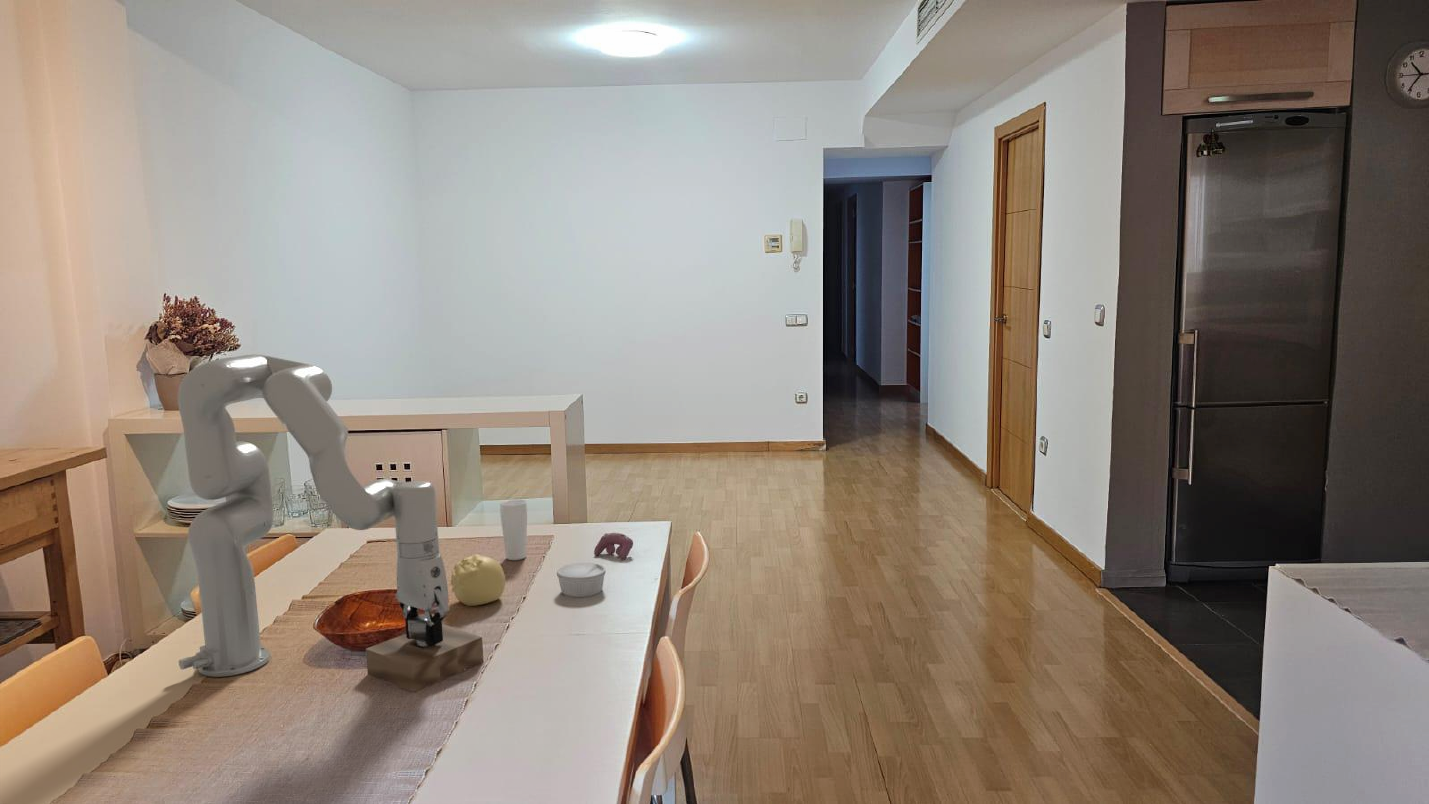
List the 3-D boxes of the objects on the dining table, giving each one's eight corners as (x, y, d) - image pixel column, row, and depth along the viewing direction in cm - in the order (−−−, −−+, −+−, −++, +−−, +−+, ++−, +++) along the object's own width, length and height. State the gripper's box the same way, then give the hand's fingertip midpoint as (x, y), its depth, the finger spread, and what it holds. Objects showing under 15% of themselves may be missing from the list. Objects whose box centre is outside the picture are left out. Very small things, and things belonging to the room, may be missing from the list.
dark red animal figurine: (631, 563, 248) (637, 536, 250) (621, 559, 244) (628, 533, 246) (601, 558, 253) (607, 532, 255) (591, 554, 249) (597, 528, 251)
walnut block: (413, 692, 170) (411, 666, 170) (367, 674, 179) (365, 648, 178) (483, 662, 183) (482, 637, 182) (438, 646, 191) (436, 622, 191)
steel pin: (422, 665, 177) (419, 626, 176) (404, 658, 180) (401, 620, 179) (447, 654, 181) (444, 617, 180) (429, 648, 184) (426, 611, 183)
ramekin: (611, 595, 219) (610, 573, 219) (563, 602, 215) (562, 580, 214) (599, 581, 230) (598, 559, 229) (553, 587, 226) (552, 566, 225)
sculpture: (449, 597, 220) (447, 552, 219) (502, 589, 224) (499, 545, 223) (454, 613, 210) (451, 566, 208) (509, 605, 214) (507, 559, 212)
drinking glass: (501, 555, 251) (498, 500, 249) (527, 553, 253) (524, 498, 251) (504, 563, 245) (501, 506, 243) (530, 560, 247) (527, 504, 245)
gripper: (463, 549, 175) (469, 643, 178) (407, 536, 186) (413, 624, 188) (429, 560, 169) (436, 656, 172) (373, 545, 180) (380, 637, 182)
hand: (424, 639), depth 180 cm, fingers closed on steel pin, 5 cm apart
